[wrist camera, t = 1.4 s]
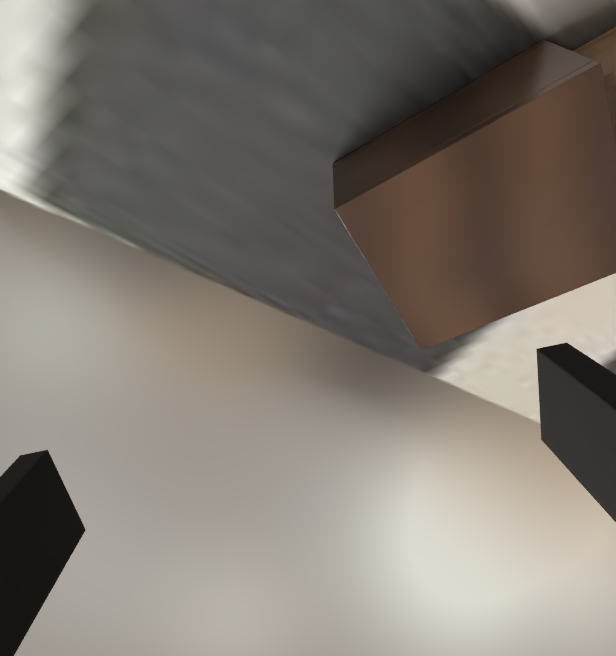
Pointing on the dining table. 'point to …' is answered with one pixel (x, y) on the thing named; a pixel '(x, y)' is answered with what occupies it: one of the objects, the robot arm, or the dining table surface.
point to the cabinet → (488, 195)
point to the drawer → (604, 64)
